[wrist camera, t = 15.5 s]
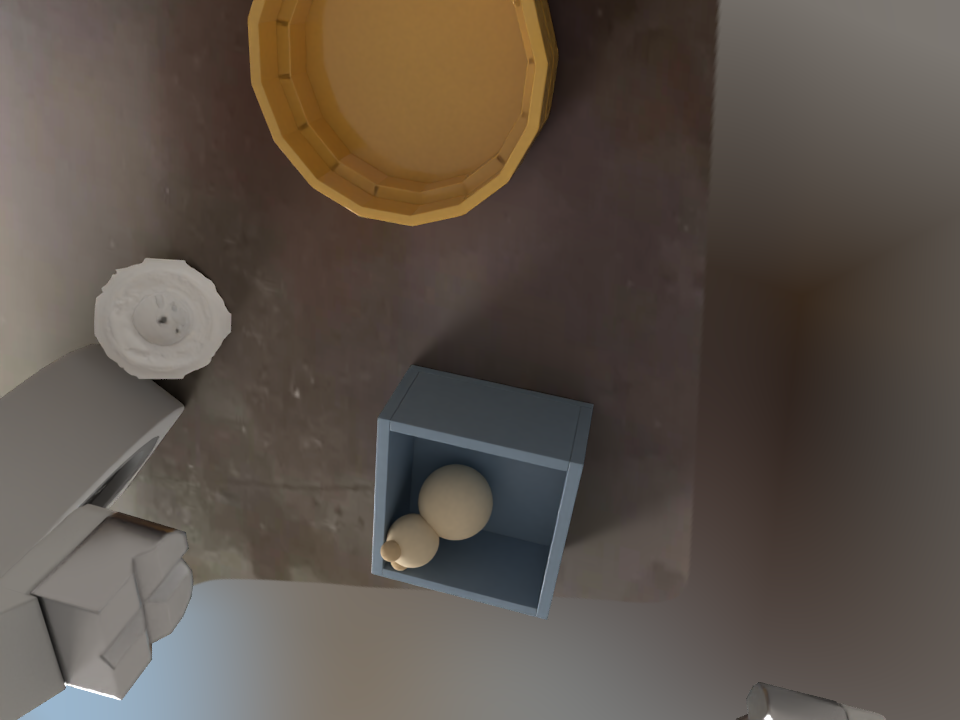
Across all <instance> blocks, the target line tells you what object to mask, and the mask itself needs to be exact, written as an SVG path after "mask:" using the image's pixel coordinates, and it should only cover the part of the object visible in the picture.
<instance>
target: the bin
mask: <svg viewBox="0 0 960 720" xmlns="http://www.w3.org/2000/svg"><path fill="white" fill-rule="evenodd" d="M592 411H593V404H590V403H586V402H581V401H576V400H572V399H567V398H563V397H558V396H553V395H549V394H544V393H540V392H535V391H530V390H526V389H521V388H516V387H512V386H507V385H503V384H498V383H493V382H489V381H484V380H480V379H475V378H470V377H466V376H461V375H457V374H452V373H447V372H443V371H438V370H434V369H429V368H424V367H420V366H415V365H411V366H410V368H409V369H408V371H407V372H406V374H405V375H404V377H403V379H402V380H401V382H400V383H399V385H398V387H397V388H396V390H395V391H394V393H393V394H392V396H391V398H390V399H389V401H388V402H387V404H386V405H385V407H384V409H383V410H382V412H381V413H380V415H379V417H378V426H377V451H376V476H375V501H374V527H373V552H372V574H375V575H379V576H383V577H387V578H390V579H394V580H398V581H402V582H406V583H409V584H413V585H417V586H421V587H425V588H428V589H432V590H436V591H440V592H444V593H447V594H451V595H455V596H459V597H463V598H467V599H470V600H474V601H478V602H482V603H485V604H489V605H493V606H497V607H501V608H504V609H508V610H512V611H516V612H520V613H523V614H527V615H531V616H536V617H539V618H542V619H547V618H548V614H549V609H550V605H551V601H552V597H553V593H554V589H555V584H556V580H557V576H558V572H559V567H560V563H561V559H562V554H563V550H564V546H565V542H566V537H567V533H568V529H569V525H570V520H571V516H572V512H573V508H574V503H575V499H576V495H577V491H578V486H579V482H580V478H581V474H582V469H583V465H584V459H585V453H586V447H587V441H588V435H589V429H590V423H591V417H592ZM452 464H460V465H465V466H469V467H471V468H473V469H475V470H476V471H478V472H479V473H480V474H481V475H482V476H483V477H484V478H485V479H486V481H487V482H488V484H489V486H490V488H491V492H492V496H493V508H492V512H491V515H490V518H489V520H488V522H487V523H486V525H485V526H484V527H483V528H482V529H481V530H480V531H479V532H478V533H477V534H475V535H473V536H472V537H469V538H467V539H463V540H448V539H444V538H441V537H439V546H438V550H437V552H436V554H435V556H434V557H433V558H432V559H431V560H430V561H429V562H428V563H427V564H425V565H423V566H420V567H416V568H407V569H405V570H402V571H398V570H396V569H394V568H393V567H392V565H391V562H388V561H386V560H384V559H383V558H382V556H381V547H382V545H383V544H384V543H385V542H386V539H387V534H388V531H389V529H390V527H391V525H392V524H393V523H394V522H395V521H396V520H397V519H398V518H400V517H401V516H404V515H407V514H420V512H419V507H418V498H419V493H420V489H421V487H422V485H423V483H424V481H425V480H426V479H427V477H428V476H429V475H430V474H431V473H433V472H434V471H435V470H437V469H439V468H441V467H443V466H446V465H452Z"/></svg>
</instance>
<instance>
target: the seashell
mask: <svg viewBox="0 0 960 720" xmlns="http://www.w3.org/2000/svg"><path fill="white" fill-rule="evenodd" d="M115 271H117V273H116V274H114V275H112V276H111V279H110V280H109V282H107V284H106V285H105V286H104V287H102V291H103V293H101V294H100V295H99V296H98V297H96V303H95V314H94V334H95V336H96V337H97V338H98V339H97V341H98V342H99V343H100V345H101V346H102V347H103V349H104V351H105V353H106V355H107V356H108V357H109V358H110V359H112V360H113V361H115V362H117V363H118V365H119V367H121V368H124V370H125V371H126V372H127V373H129V374H130V375H134V376H137V377H138V379H183V378H184V376H185V375H186V374H188V373H191V372H192V371H194V370H198V369H199V368H203V367H204V366H207V365H208V364H209V363H210V362H211V358H212V356H214V355H215V352H216V351H217V350H218V349H219V347H220V346H221V344H222V341H223V339H225V338H226V337H227V335H228V334H229V333H231V313H229V312H228V310H227V308H226V307H225V305H224V301H223V299H222V298H221V297H220V295H219V294H218V293H217V292H216V289H215V287H216V286H215V284H214V283H212V281H211V280H209V279H208V278H206V277H204V276H203V275H202V274H201V273H199V272H198V271H196V270H195V269H194V268H191V267H190V266H189V265H187V264H186V262H185V260H170V259H154V258H145V259H144V261H143V262H142V263H141V264H140V263H139V265H138V264H136V265H132V266H129V267H127V268H122V269H116V270H115Z"/></svg>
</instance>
